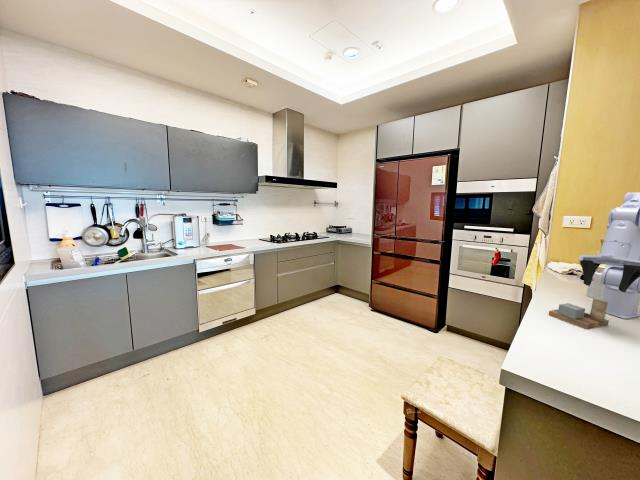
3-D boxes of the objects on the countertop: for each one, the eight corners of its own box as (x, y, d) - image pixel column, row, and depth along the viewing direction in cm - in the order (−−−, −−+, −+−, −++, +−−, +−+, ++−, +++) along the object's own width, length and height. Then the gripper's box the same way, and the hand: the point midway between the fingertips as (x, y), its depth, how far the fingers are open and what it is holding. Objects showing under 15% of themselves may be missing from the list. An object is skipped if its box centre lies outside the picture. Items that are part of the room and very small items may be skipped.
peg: (593, 316, 84) (596, 298, 83) (606, 320, 81) (610, 302, 80) (587, 317, 83) (590, 299, 82) (600, 321, 80) (604, 303, 79)
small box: (618, 304, 100) (624, 278, 99) (601, 302, 101) (607, 276, 100) (601, 296, 108) (606, 272, 106) (585, 295, 109) (590, 271, 107)
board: (569, 311, 91) (570, 307, 90) (607, 325, 81) (608, 320, 81) (548, 315, 87) (549, 310, 87) (586, 329, 78) (587, 324, 78)
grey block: (566, 311, 86) (568, 303, 86) (583, 317, 82) (585, 308, 82) (557, 313, 85) (559, 304, 84) (574, 319, 81) (576, 310, 80)
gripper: (578, 238, 82) (565, 278, 82) (648, 242, 69) (633, 289, 68) (590, 246, 85) (577, 284, 84) (659, 251, 71) (645, 297, 70)
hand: (603, 287), depth 76 cm, fingers open, 7 cm apart
